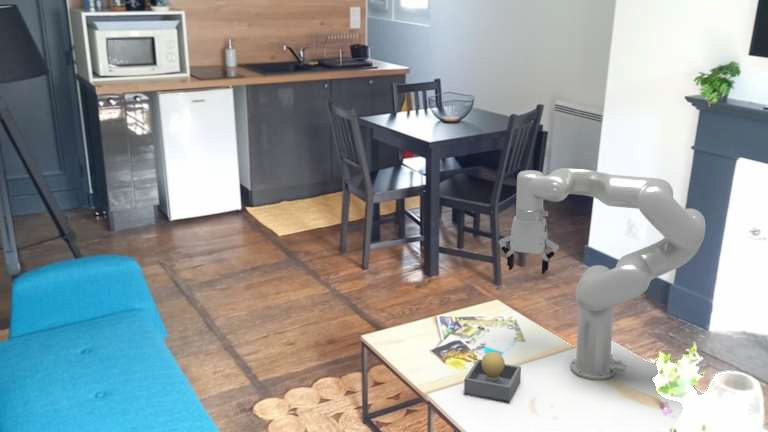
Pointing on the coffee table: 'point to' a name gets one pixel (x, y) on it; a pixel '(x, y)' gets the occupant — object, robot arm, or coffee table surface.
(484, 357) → the light bulb
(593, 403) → the coffee table surface
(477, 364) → the bin
